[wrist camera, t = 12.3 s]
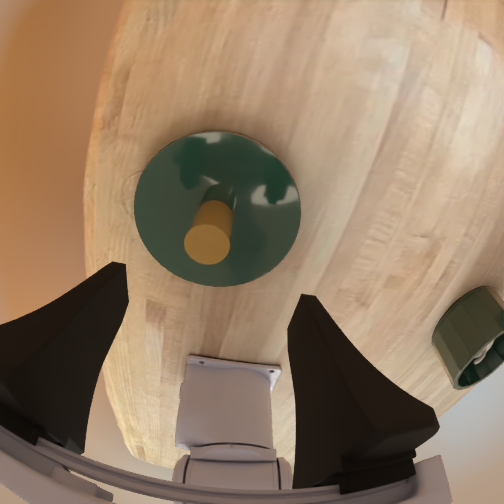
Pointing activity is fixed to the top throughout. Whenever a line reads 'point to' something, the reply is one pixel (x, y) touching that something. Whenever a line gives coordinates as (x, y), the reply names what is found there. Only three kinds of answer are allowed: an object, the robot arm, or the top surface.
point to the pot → (471, 337)
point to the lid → (217, 208)
